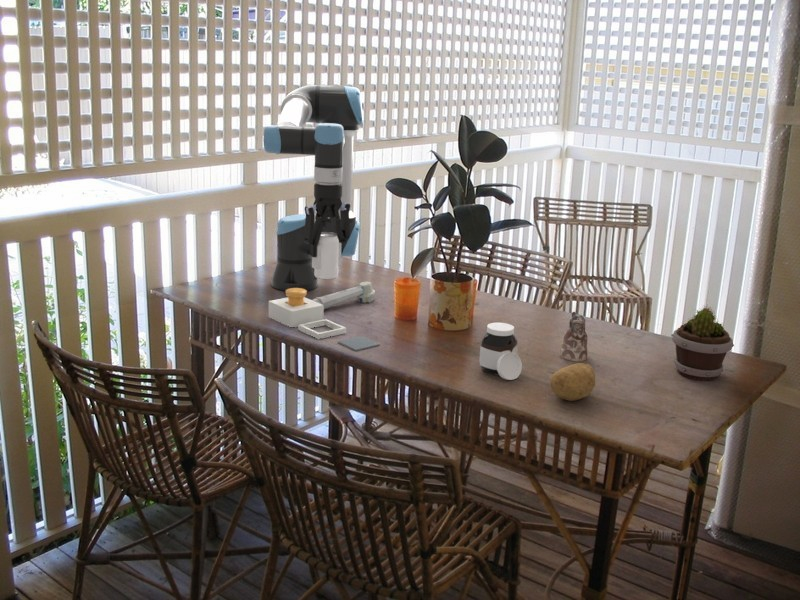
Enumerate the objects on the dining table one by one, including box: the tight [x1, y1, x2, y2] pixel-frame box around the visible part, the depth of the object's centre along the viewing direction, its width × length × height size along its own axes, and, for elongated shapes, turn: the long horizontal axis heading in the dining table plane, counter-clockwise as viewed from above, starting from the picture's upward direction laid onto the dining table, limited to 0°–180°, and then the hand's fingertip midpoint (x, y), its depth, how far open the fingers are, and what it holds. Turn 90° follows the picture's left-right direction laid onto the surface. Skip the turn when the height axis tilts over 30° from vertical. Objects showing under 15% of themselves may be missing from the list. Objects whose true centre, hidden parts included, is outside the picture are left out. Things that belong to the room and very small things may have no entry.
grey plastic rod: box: [312, 281, 376, 310], centre depth 271 cm, size 5×7×25 cm
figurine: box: [559, 311, 589, 362], centre depth 235 cm, size 7×7×12 cm
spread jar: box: [479, 322, 523, 381], centre depth 221 cm, size 12×11×12 cm
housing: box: [268, 296, 347, 340], centre depth 252 cm, size 11×24×5 cm, turn 41°
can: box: [314, 232, 339, 281], centre depth 240 cm, size 6×6×12 cm
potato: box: [550, 362, 596, 402], centre depth 208 cm, size 10×14×8 cm
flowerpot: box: [670, 304, 735, 381], centre depth 225 cm, size 14×15×20 cm
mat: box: [337, 335, 380, 352], centre depth 239 cm, size 8×8×1 cm
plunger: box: [285, 288, 308, 306], centre depth 255 cm, size 6×6×8 cm
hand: (326, 266), depth 241 cm, fingers closed on can, 6 cm apart
